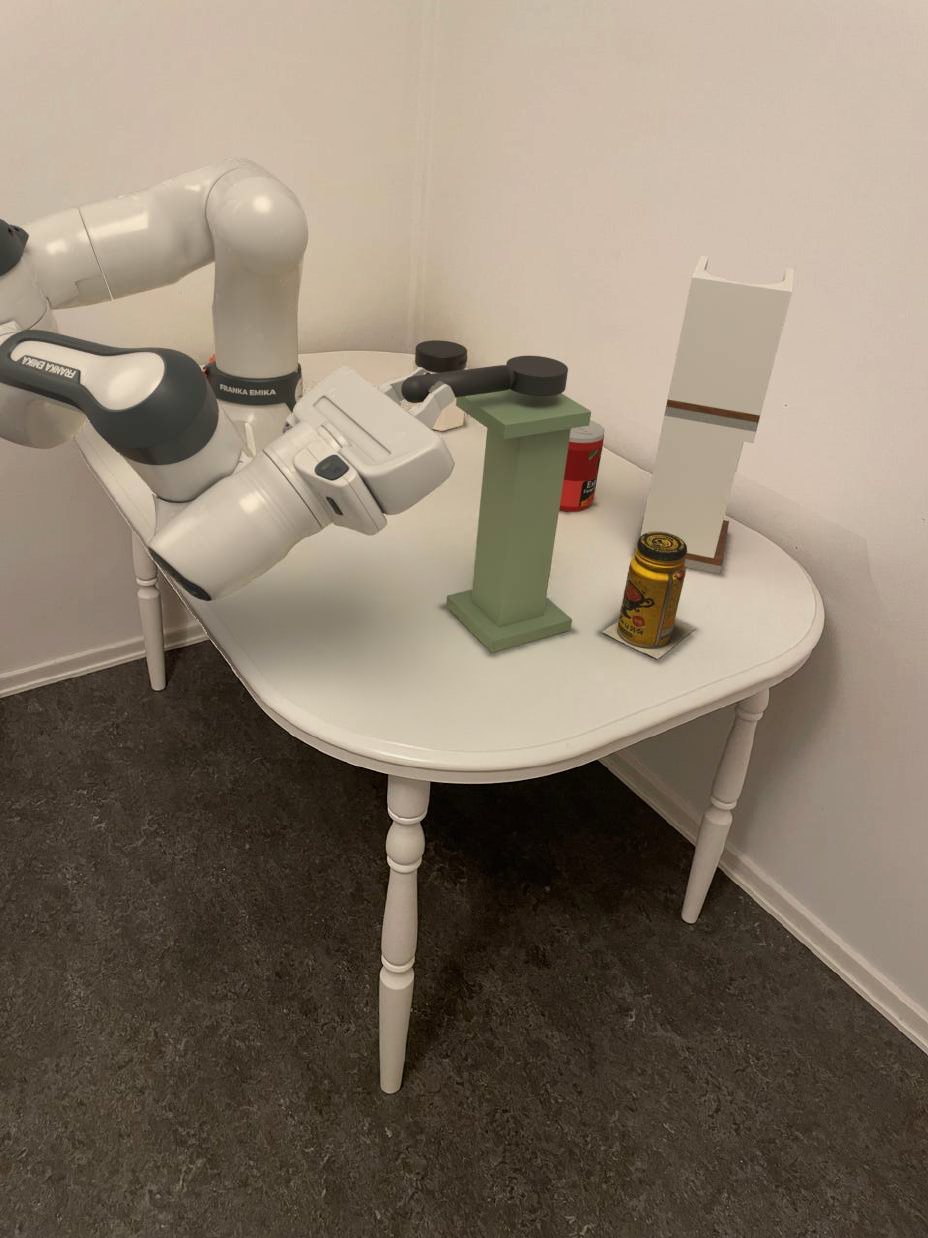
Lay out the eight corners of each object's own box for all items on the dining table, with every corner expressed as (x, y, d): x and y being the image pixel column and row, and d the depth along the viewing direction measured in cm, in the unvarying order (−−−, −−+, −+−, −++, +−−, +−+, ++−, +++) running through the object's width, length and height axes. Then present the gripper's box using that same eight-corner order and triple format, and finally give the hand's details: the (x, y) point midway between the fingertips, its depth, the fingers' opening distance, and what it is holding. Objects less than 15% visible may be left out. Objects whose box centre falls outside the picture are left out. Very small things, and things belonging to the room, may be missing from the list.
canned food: (590, 516, 132) (603, 441, 126) (533, 507, 133) (542, 432, 127) (595, 492, 138) (607, 420, 132) (540, 484, 139) (550, 412, 133)
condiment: (601, 633, 108) (618, 540, 101) (640, 605, 114) (659, 515, 107) (657, 661, 104) (679, 566, 98) (694, 630, 110) (718, 538, 103)
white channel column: (719, 574, 121) (792, 291, 102) (636, 556, 123) (691, 277, 104) (725, 534, 131) (793, 268, 111) (648, 518, 133) (701, 255, 113)
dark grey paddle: (417, 415, 85) (418, 389, 84) (387, 392, 89) (388, 367, 88) (577, 392, 93) (581, 368, 92) (543, 372, 97) (545, 348, 96)
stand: (483, 655, 103) (508, 426, 88) (438, 608, 110) (454, 389, 95) (570, 630, 108) (607, 411, 94) (522, 587, 115) (549, 376, 101)
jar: (467, 431, 154) (473, 357, 147) (417, 432, 152) (421, 357, 145) (455, 410, 161) (461, 339, 154) (407, 410, 159) (411, 338, 152)
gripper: (291, 451, 96) (401, 371, 98) (382, 545, 82) (509, 449, 83) (259, 403, 91) (374, 320, 93) (349, 493, 77) (483, 393, 79)
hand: (439, 381), depth 88 cm, fingers closed on dark grey paddle, 2 cm apart
